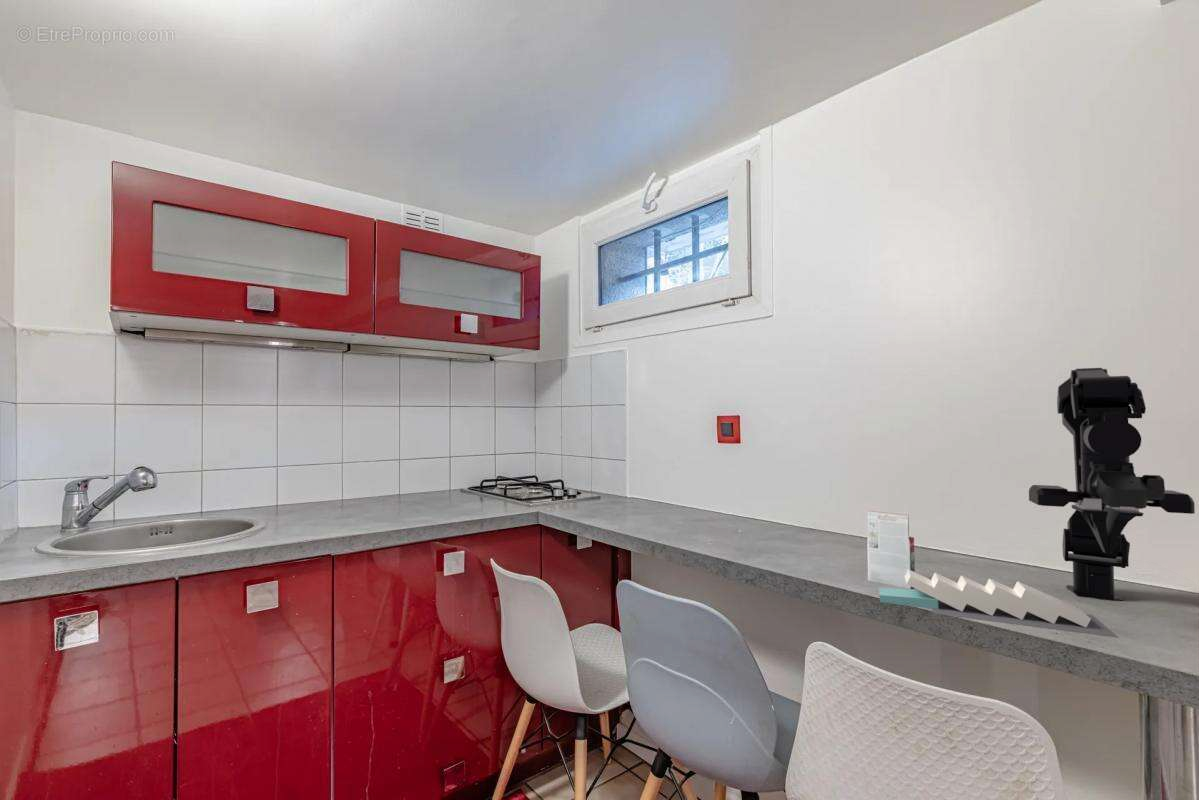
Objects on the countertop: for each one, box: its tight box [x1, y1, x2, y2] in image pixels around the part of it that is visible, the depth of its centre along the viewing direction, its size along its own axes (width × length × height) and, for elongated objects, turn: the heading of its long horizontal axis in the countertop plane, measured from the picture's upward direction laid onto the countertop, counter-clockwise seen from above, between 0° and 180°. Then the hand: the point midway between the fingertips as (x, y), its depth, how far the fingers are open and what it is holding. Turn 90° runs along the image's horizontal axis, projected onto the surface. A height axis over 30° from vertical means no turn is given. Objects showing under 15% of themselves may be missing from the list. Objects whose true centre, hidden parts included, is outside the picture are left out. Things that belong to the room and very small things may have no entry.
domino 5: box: [984, 578, 1059, 624], centre depth 92 cm, size 2×5×9 cm
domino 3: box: [930, 572, 996, 616], centre depth 95 cm, size 2×5×9 cm
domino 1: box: [878, 587, 939, 610], centre depth 99 cm, size 2×5×9 cm
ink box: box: [866, 510, 916, 590], centre depth 109 cm, size 4×8×15 cm, turn 47°
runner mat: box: [931, 600, 1120, 639], centre depth 92 cm, size 10×24×1 cm, turn 65°
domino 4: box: [957, 574, 1027, 620], centre depth 93 cm, size 2×5×9 cm
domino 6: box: [1012, 580, 1091, 627], centre depth 90 cm, size 2×5×9 cm
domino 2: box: [905, 569, 966, 611], centre depth 97 cm, size 2×5×9 cm
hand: (1107, 552), depth 87 cm, fingers closed
